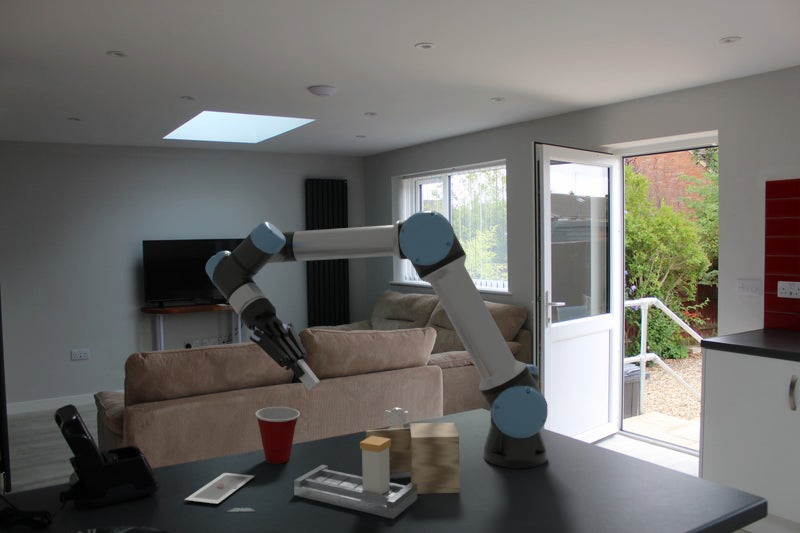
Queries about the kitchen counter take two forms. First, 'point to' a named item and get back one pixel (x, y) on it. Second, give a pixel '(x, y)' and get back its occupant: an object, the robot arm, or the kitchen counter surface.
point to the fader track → (353, 492)
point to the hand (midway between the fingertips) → (314, 386)
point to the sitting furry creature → (396, 417)
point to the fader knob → (375, 464)
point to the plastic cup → (277, 432)
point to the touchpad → (220, 488)
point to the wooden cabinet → (425, 455)
